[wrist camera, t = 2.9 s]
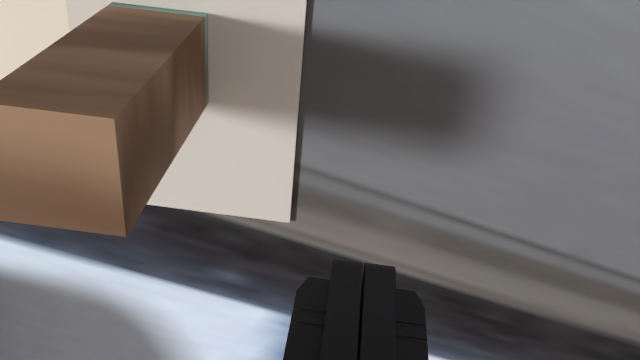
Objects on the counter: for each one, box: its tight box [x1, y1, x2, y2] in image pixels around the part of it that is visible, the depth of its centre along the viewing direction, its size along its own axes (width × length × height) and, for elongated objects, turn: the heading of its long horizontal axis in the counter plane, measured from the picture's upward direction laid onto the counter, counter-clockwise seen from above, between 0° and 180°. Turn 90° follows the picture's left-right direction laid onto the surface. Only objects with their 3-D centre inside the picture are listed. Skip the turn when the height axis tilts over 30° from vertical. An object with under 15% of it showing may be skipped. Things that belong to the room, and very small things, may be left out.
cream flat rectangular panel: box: [0, 0, 307, 223], centre depth 26 cm, size 16×20×1 cm
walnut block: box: [0, 2, 209, 237], centre depth 22 cm, size 4×4×10 cm
